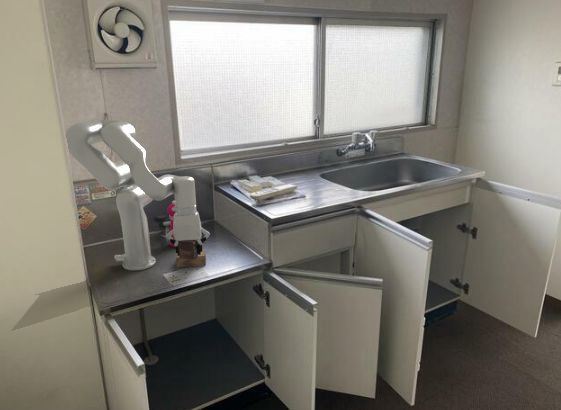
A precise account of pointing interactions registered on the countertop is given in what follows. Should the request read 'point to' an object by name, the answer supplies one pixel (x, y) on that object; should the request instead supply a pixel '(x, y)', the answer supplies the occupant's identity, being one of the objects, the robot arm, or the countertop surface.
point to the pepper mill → (171, 218)
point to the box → (188, 249)
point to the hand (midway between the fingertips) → (189, 253)
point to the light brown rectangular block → (198, 261)
